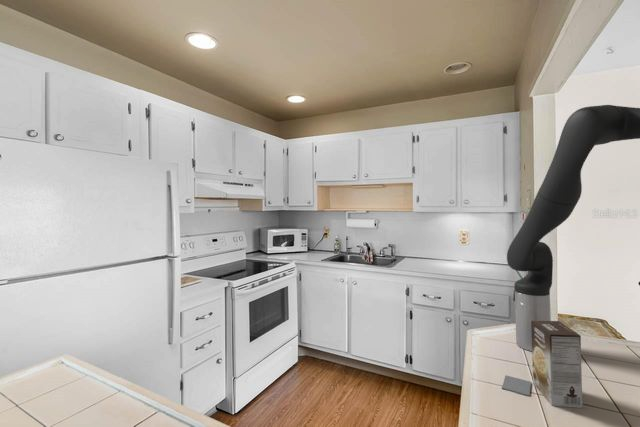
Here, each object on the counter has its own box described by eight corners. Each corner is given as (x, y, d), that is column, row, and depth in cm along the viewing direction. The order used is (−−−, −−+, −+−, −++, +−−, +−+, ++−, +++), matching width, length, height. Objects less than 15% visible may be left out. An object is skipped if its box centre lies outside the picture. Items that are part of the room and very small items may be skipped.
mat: (505, 376, 80) (505, 375, 80) (531, 382, 76) (531, 381, 76) (502, 388, 74) (502, 387, 74) (529, 396, 71) (529, 395, 71)
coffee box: (531, 383, 76) (529, 319, 76) (560, 385, 75) (558, 320, 75) (551, 406, 67) (549, 333, 67) (585, 409, 66) (582, 335, 66)
